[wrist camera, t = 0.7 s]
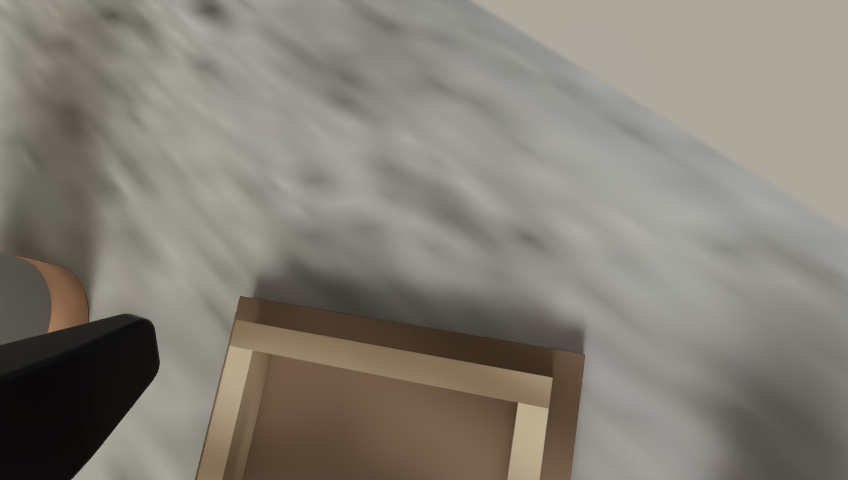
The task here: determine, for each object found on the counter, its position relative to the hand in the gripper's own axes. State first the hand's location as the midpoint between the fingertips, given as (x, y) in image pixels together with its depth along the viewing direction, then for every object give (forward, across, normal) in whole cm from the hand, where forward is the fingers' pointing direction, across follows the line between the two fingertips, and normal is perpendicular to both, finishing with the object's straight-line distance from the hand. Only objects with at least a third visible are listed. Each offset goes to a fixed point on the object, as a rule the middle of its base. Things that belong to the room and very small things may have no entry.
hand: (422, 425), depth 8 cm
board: (+8, +4, +13) cm, 16 cm away
